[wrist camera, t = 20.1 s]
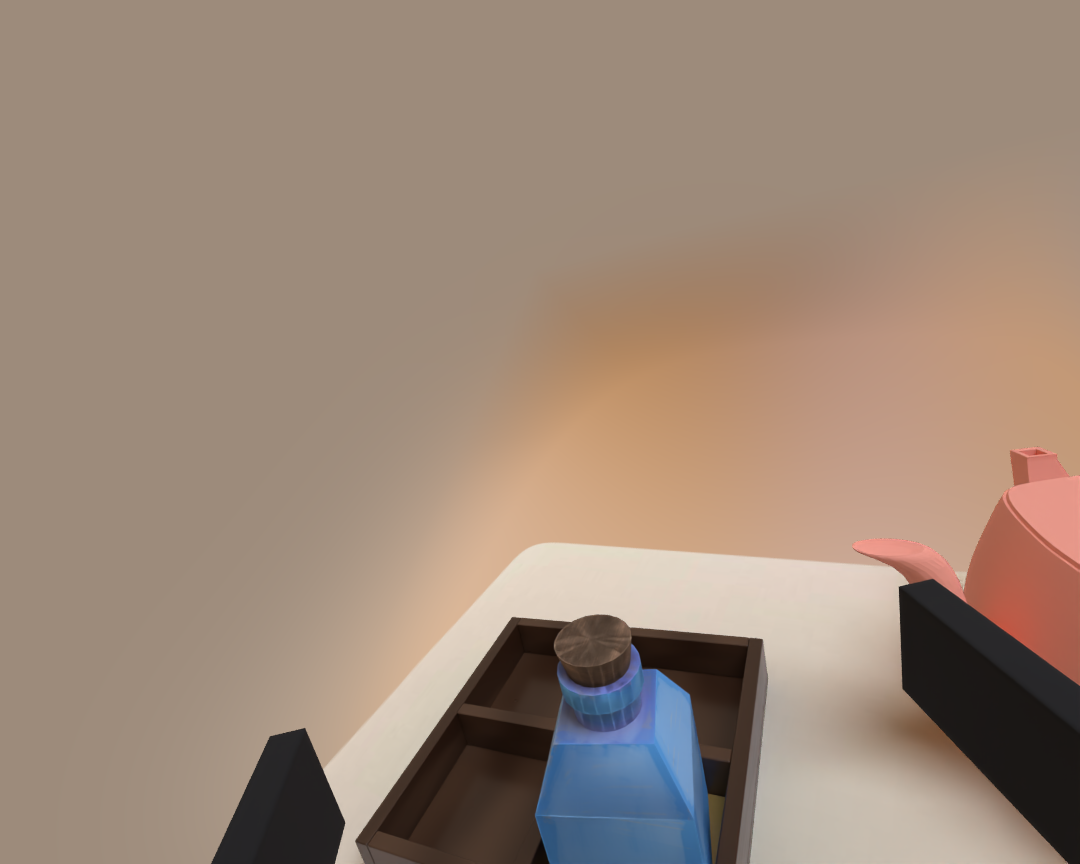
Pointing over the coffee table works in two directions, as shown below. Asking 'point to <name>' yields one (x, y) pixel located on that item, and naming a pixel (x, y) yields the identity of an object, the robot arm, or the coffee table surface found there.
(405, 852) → the wooden compartment tray
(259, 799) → the robot arm
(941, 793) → the coffee table surface
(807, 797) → the coffee table surface
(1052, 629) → the teapot
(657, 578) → the coffee table surface
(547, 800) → the perfume bottle
